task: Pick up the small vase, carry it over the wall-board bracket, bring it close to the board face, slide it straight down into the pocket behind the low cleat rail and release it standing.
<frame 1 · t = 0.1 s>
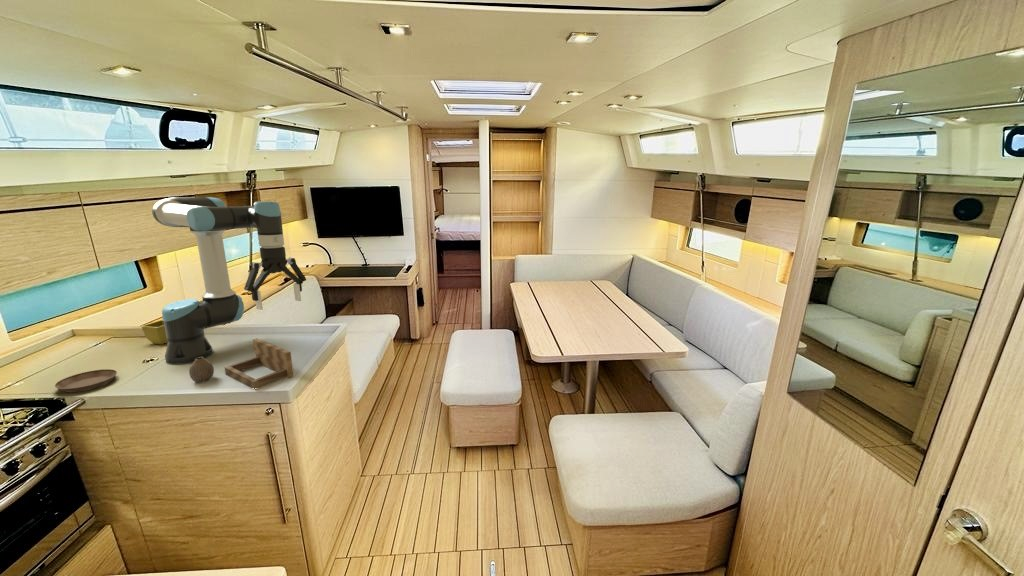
hand: (279, 304, 138), 28 cm above the counter, fingers open, 13 cm apart
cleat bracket: (258, 374, 144), on the counter
flower pot: (163, 342, 172), on the counter
saucer: (89, 385, 134), on the counter
vase: (203, 380, 139), on the counter
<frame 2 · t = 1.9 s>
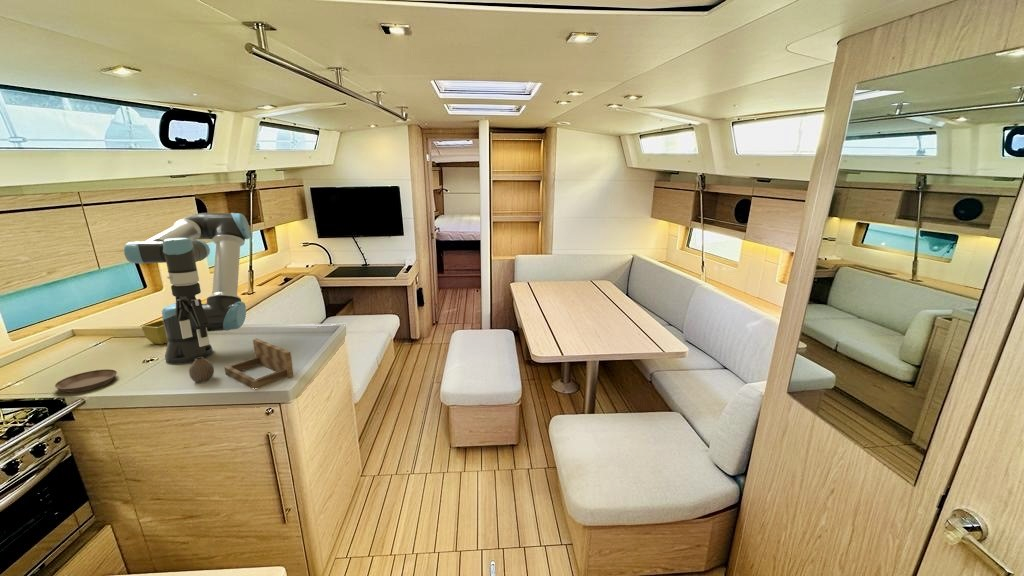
hand: (195, 341, 135), 15 cm above the counter, fingers open, 13 cm apart
nothing on the counter moved.
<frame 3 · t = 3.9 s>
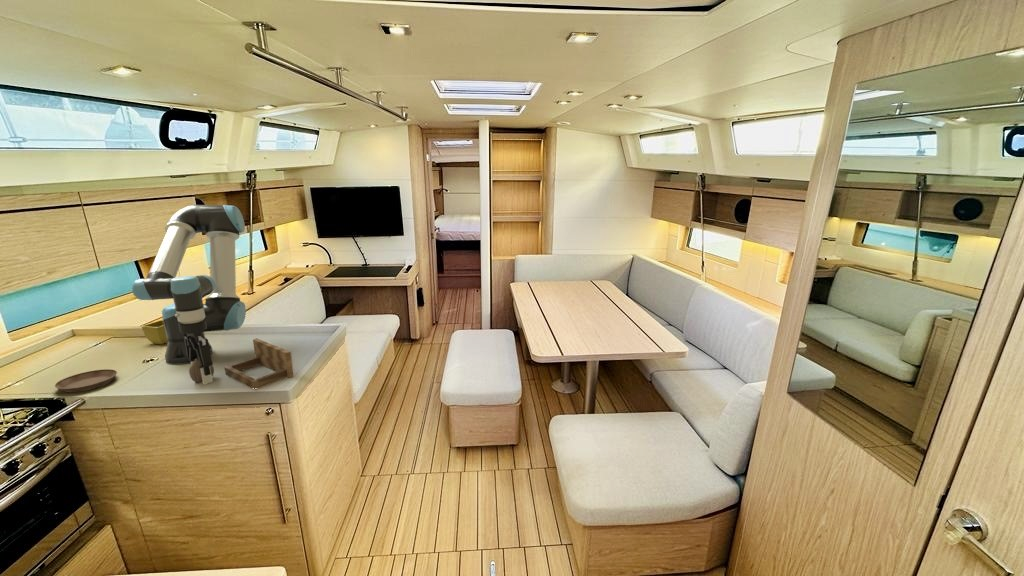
hand: (203, 379, 139), 0 cm above the counter, fingers open, 7 cm apart
vase: (203, 380, 139), on the counter, touching gripper
everything else where it was.
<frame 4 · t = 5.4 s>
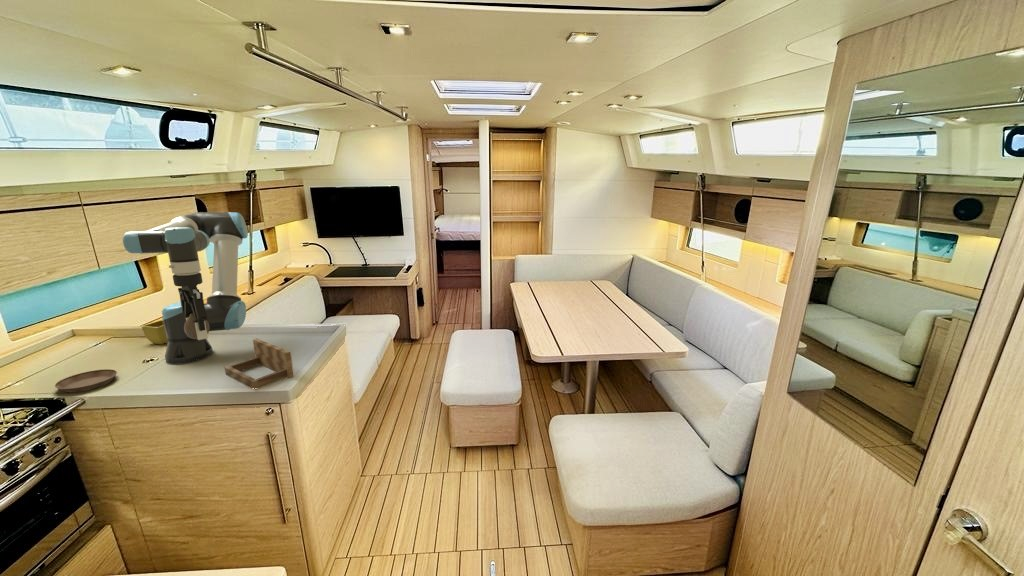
hand: (198, 336, 135), 17 cm above the counter, fingers closed on vase, 7 cm apart
vase: (198, 337, 135), point 17 cm above the counter, touching gripper
everything else where it was.
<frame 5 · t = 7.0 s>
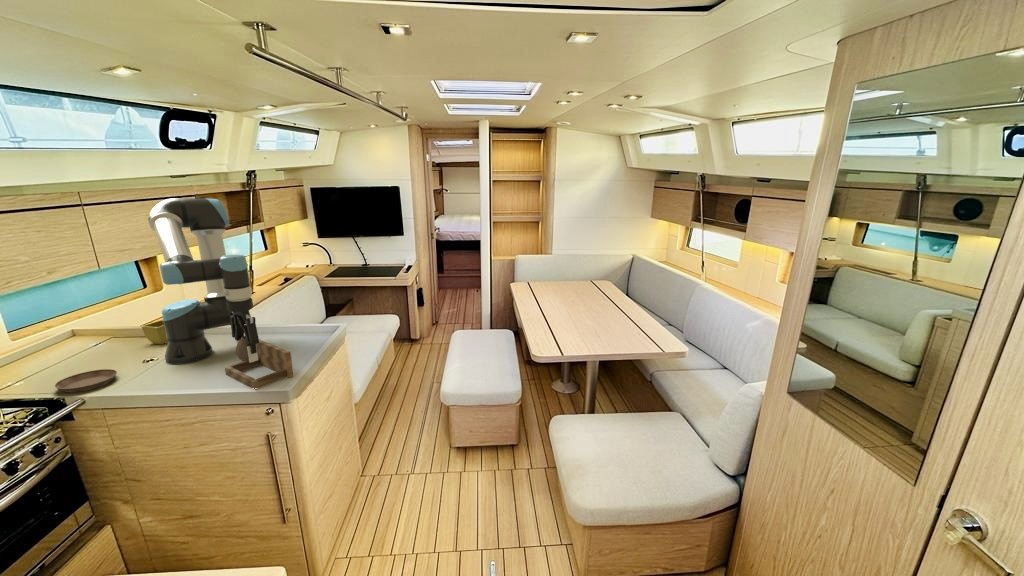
hand: (248, 358, 140), 8 cm above the counter, fingers closed on vase, 7 cm apart
vase: (248, 359, 140), point 7 cm above the counter, touching gripper
everything else where it was.
when the fingers open (2 cm above the counter, at t = 9.5 s): vase drops 2 cm, resting in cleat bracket.
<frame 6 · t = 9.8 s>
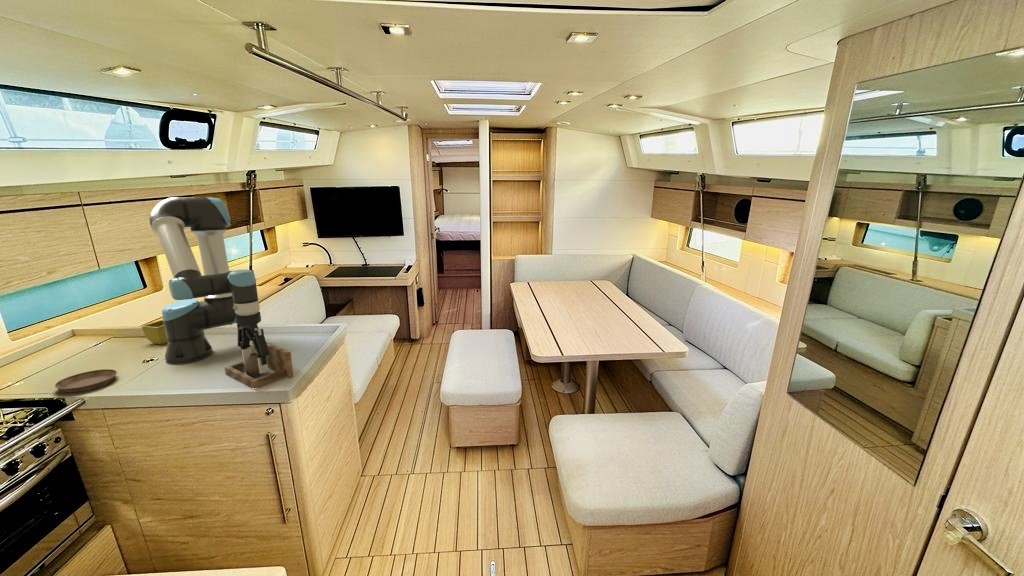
hand: (256, 368, 143), 3 cm above the counter, fingers open, 10 cm apart
vase: (257, 375, 144), resting in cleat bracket
everything else where it was.
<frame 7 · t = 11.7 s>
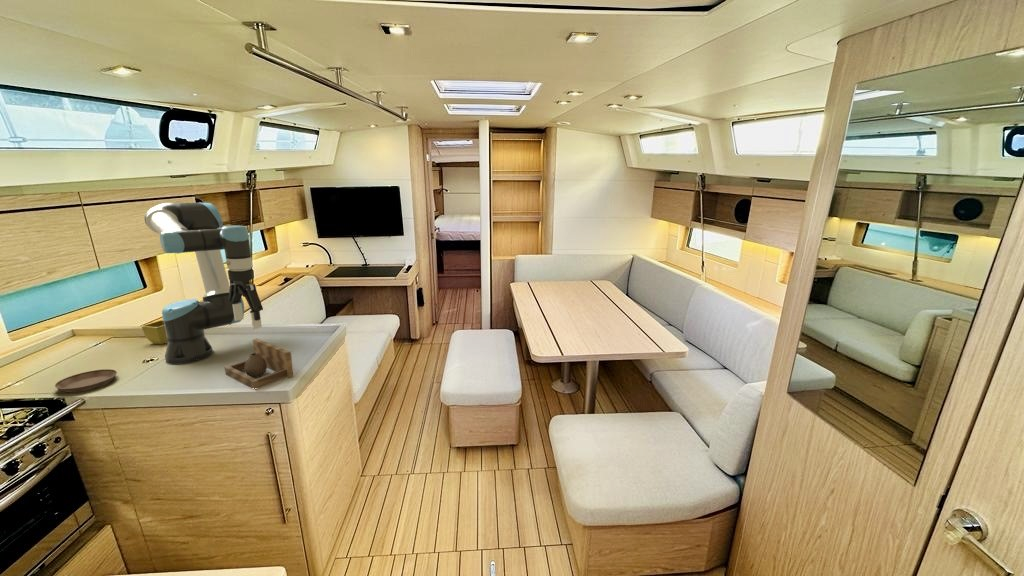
hand: (248, 323, 143), 19 cm above the counter, fingers open, 13 cm apart
nothing on the counter moved.
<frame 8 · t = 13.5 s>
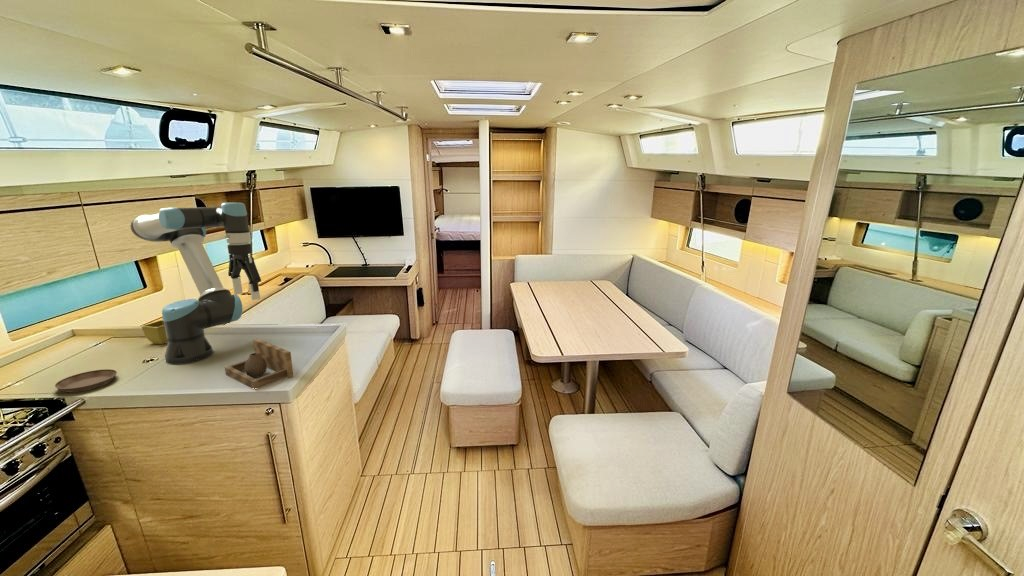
hand: (247, 296, 151), 27 cm above the counter, fingers open, 13 cm apart
nothing on the counter moved.
at the end: vase inside the target area (0.3 cm from its centre), resting in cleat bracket; vase tilted 0°; the gripper is holding nothing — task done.
